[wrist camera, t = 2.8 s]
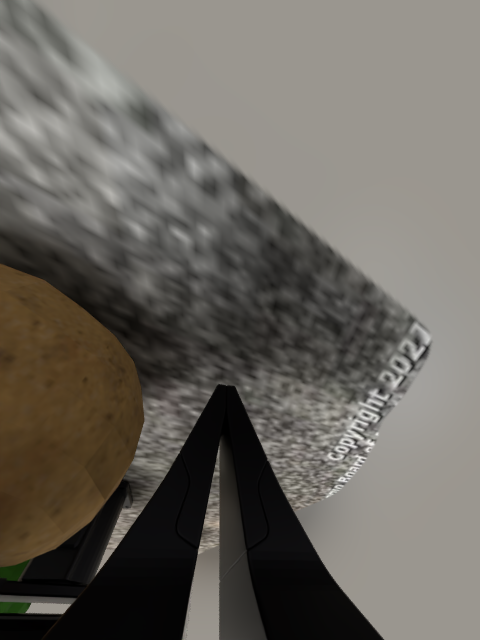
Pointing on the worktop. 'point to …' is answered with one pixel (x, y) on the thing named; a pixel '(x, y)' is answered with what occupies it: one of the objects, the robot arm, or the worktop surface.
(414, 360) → the worktop surface
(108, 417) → the potato
